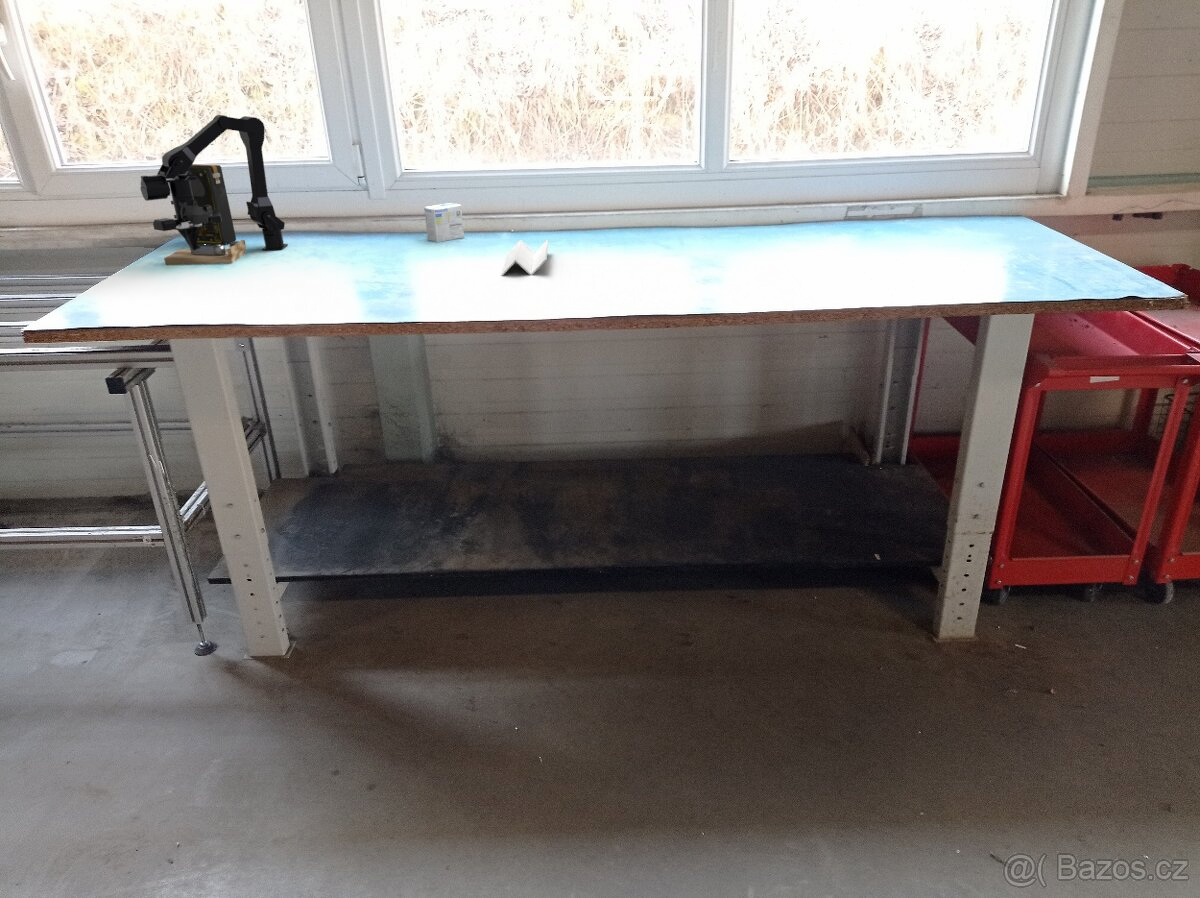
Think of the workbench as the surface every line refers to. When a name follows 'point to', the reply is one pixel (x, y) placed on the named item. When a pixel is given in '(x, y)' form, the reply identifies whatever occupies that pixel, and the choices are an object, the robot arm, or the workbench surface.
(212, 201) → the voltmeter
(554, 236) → the workbench surface
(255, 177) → the robot arm
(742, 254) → the workbench surface
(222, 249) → the bar
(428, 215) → the light bulb box
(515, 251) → the z bracket
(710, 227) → the workbench surface
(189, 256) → the door board
